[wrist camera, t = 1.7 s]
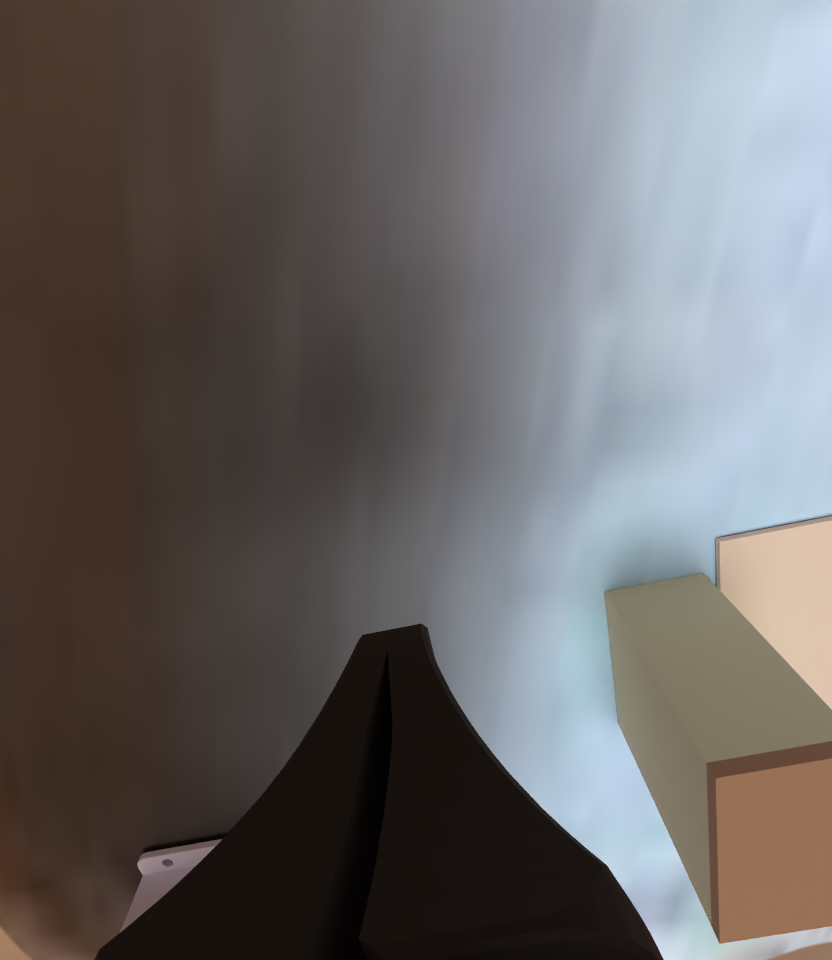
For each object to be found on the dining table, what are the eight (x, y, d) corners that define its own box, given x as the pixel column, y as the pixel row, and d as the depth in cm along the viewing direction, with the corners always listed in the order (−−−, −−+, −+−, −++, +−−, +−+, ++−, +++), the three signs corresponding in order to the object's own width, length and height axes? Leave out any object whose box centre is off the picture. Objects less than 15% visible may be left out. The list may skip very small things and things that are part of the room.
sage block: (617, 722, 26) (719, 943, 18) (603, 591, 24) (715, 778, 15) (707, 706, 26) (852, 922, 18) (703, 572, 24) (870, 751, 15)
